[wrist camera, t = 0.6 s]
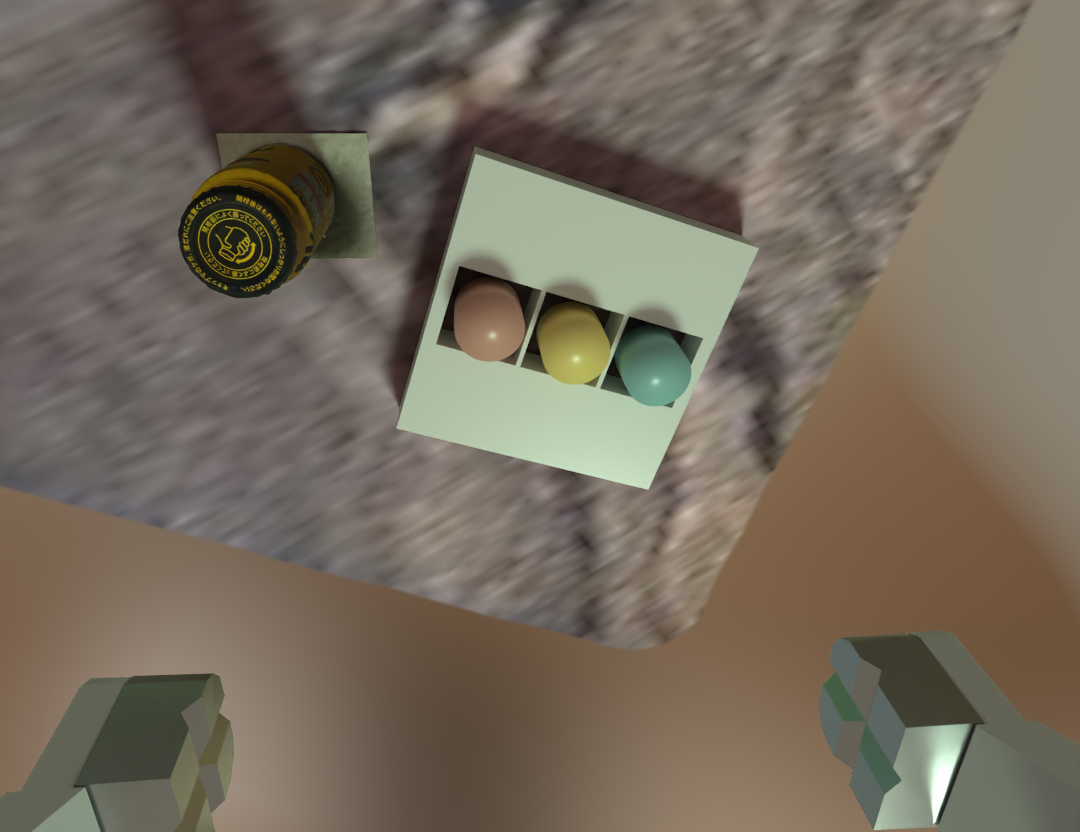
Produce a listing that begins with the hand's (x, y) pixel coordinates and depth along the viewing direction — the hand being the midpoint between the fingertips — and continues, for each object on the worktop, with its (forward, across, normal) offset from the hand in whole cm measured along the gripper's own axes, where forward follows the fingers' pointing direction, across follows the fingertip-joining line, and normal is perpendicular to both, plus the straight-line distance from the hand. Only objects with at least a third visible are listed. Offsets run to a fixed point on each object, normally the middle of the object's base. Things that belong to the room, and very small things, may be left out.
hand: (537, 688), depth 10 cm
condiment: (+41, +10, +1) cm, 43 cm away
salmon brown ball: (+40, -1, +8) cm, 40 cm away
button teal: (+40, -11, +11) cm, 43 cm away
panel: (+41, -6, +10) cm, 43 cm away
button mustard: (+40, -6, +10) cm, 41 cm away
